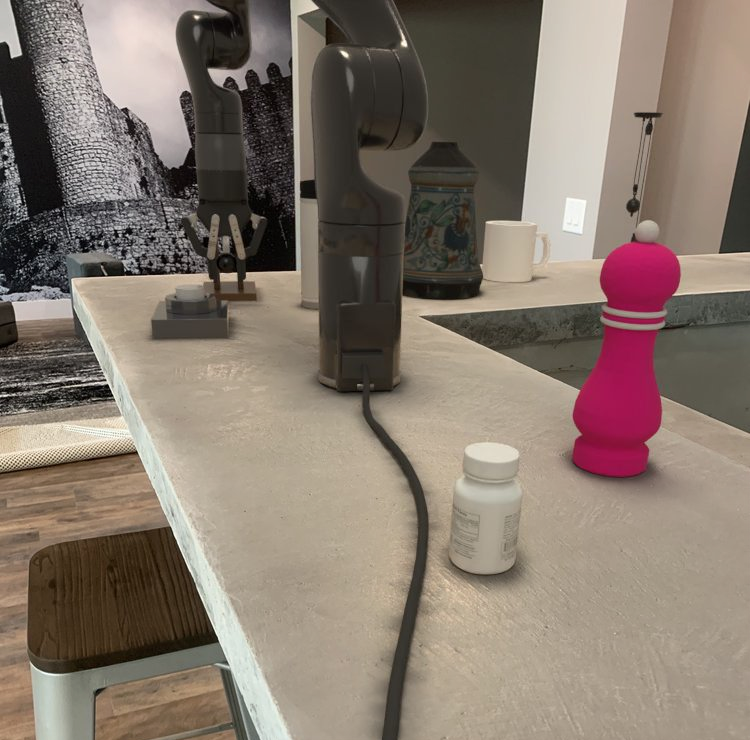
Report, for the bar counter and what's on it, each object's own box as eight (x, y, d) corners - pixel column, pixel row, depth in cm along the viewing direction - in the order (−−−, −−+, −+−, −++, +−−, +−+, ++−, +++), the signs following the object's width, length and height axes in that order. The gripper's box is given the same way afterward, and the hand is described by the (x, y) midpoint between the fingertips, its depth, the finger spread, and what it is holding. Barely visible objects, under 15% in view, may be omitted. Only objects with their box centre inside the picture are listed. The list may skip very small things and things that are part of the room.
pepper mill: (588, 442, 71) (622, 214, 63) (664, 462, 67) (713, 221, 59) (551, 464, 66) (584, 219, 58) (632, 487, 62) (679, 227, 53)
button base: (228, 338, 105) (226, 305, 103) (153, 339, 103) (149, 306, 101) (228, 318, 116) (227, 288, 114) (161, 319, 115) (158, 288, 113)
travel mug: (336, 311, 123) (336, 176, 114) (296, 308, 124) (294, 174, 115) (345, 304, 128) (346, 174, 120) (307, 301, 129) (305, 173, 121)
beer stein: (431, 303, 130) (439, 141, 120) (365, 285, 145) (367, 140, 134) (500, 294, 139) (514, 143, 129) (432, 279, 154) (439, 141, 143)
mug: (534, 273, 163) (539, 220, 158) (555, 281, 154) (561, 225, 150) (474, 274, 160) (478, 220, 156) (492, 282, 151) (497, 225, 147)
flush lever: (237, 277, 123) (236, 260, 120) (217, 277, 122) (216, 260, 120) (235, 225, 131) (234, 208, 128) (216, 225, 130) (214, 208, 128)
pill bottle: (507, 544, 53) (519, 439, 49) (521, 576, 49) (534, 465, 46) (444, 543, 53) (452, 438, 49) (452, 576, 49) (461, 464, 45)
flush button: (204, 302, 106) (203, 289, 106) (175, 302, 106) (174, 289, 105) (205, 296, 110) (204, 284, 109) (177, 296, 109) (176, 284, 109)
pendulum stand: (256, 301, 129) (252, 214, 123) (201, 301, 127) (195, 213, 122) (255, 288, 140) (251, 208, 134) (204, 288, 138) (198, 207, 132)
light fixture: (600, 267, 173) (622, 112, 160) (634, 267, 175) (659, 113, 161) (620, 274, 164) (646, 111, 151) (656, 274, 166) (685, 112, 153)
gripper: (171, 166, 112) (182, 287, 119) (269, 168, 114) (272, 286, 121) (175, 164, 118) (184, 279, 126) (267, 166, 120) (270, 278, 128)
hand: (228, 282), depth 123 cm, fingers closed on flush lever, 3 cm apart
